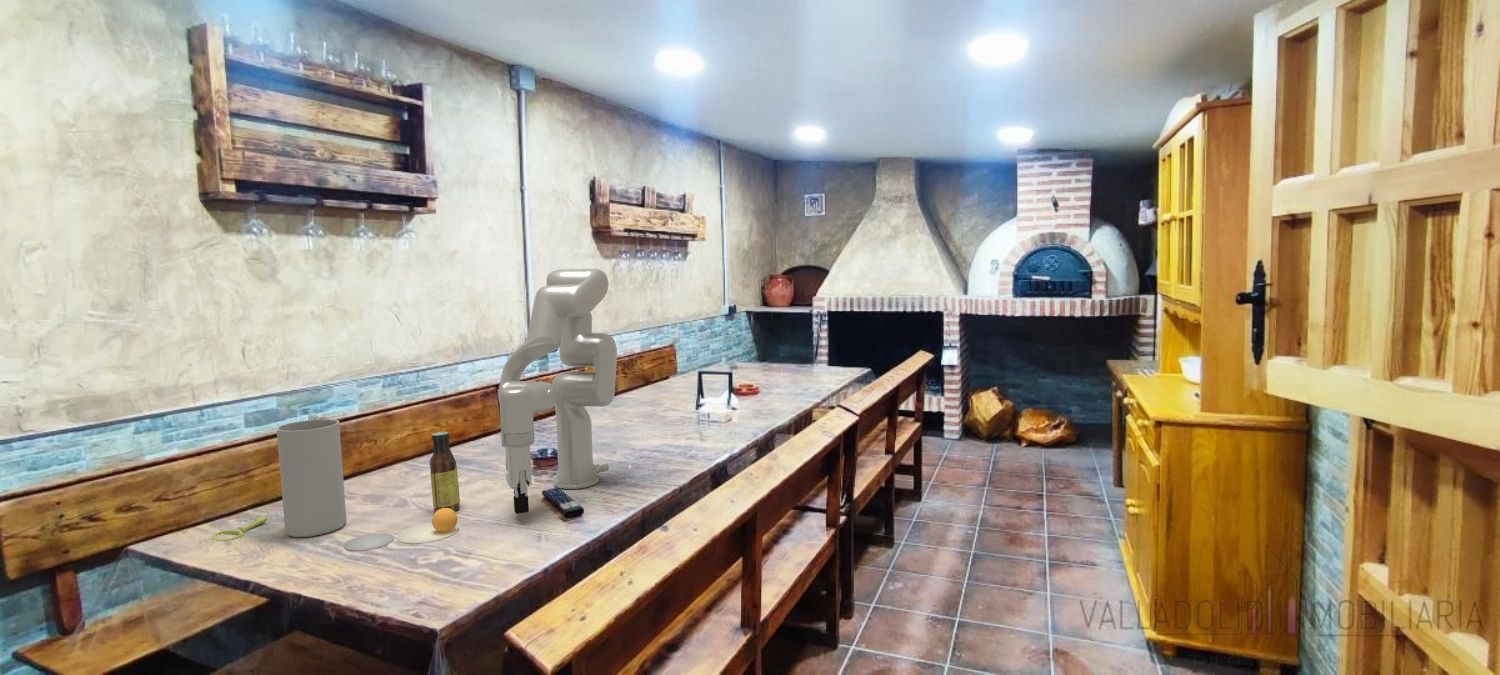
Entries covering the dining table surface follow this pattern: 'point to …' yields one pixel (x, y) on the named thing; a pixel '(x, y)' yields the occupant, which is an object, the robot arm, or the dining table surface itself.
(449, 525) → the ball
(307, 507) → the cylinder vase
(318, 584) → the dining table surface
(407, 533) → the disc
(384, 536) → the disc
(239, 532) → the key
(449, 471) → the sauce bottle
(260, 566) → the dining table surface
